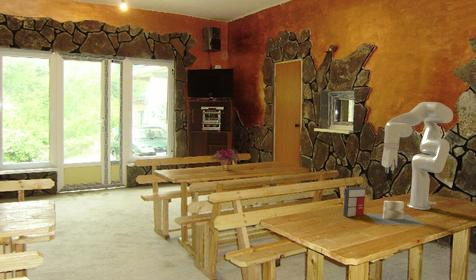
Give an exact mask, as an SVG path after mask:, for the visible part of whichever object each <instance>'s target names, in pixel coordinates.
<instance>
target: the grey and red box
mask: <svg viewBox="0 0 476 280" xmlns="http://www.w3.org/2000/svg"><path fill="white" fill-rule="evenodd" d="M343 190H344V191H343V195H344V198H343V199H344V201H343V215H342V216H343V217H345V218H354V217H355V216H356V217H357V216H364V215H365V214H364V213H365V200H366V188H365V187H362V186H357V187H354V186H353V187H344V189H343Z"/></svg>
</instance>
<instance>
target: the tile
mask: <svg viewBox="0 0 476 280" xmlns="http://www.w3.org/2000/svg"><path fill="white" fill-rule="evenodd" d="M382 208H383V209H382V214H383V218H384V219H403V215H404V212H405V211H404V209H405V202H404V201H403V200H401V201H400V200H383V207H382Z"/></svg>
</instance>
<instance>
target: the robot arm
mask: <svg viewBox="0 0 476 280" xmlns="http://www.w3.org/2000/svg"><path fill="white" fill-rule="evenodd" d="M453 118H454V113H453V110H452V109H451V108H449V106H446V105H445V104H443V103H441V102H436V101H423V102H420V103H418V104H417V105H415V107H414V108H412V109H411V110H410V111H409V112H405V113H402V114H400V115H397V116H394V117H393V118H391V119H390V120H388V122H387V123H386V124H385V126H384V138H383V140H384V141H383V152H382V158H381V166H383V167H384V169H385V170H384V171H385V174H384V181H390V182H391V181H392V180H393V173H394V171H395V169H396V168H397V167H398V152H399V150H400V149H399V147H400V139H401V138H409V137H410V136H412V134H413V127H414V126H418V125H420V124H421V123H423V124H424V132H423V136H422V138H421V142H420V145H419V150H420V152H421V153H418V154H415V155H413V156H412V159H411V169H412V176H411V187H410V188H411V189H410V199H409V203H406V206H407V207H408V208H410V209H414V210H419V211H422V210H423V211H425V210H426V211H428V210H431V206H436V205H437V201H430V200H429V194H430V192H429V191H430V183H431V182H430V181H431V179H430V175H429V173H436V174H440V173H441V172H442V171H443V170H444V168H445V165H446V162H447V159H448V156H449V152H450V148H451V147H450V143H449V141H448V140H447V139H443V138H440V135H441V129H440V127H439V126H438V123H439V124H448V123H450V122H452V121H453Z"/></svg>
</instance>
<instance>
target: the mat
mask: <svg viewBox="0 0 476 280" xmlns="http://www.w3.org/2000/svg"><path fill="white" fill-rule="evenodd" d="M364 213H365V212H364ZM364 215H366V216H367V217H368V218H369V219H371V220H372V221H373V222H375V223H376V224H377V225H392V226H393V225H397V226H399V225H402V226H403V225H404V226H426V225H425V224H424V223H422V222H420V221H419V220H418V219H416V218H414V217H413V216H411V215H410V214H403V219H384V218H383V213H365V214H364Z"/></svg>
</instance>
